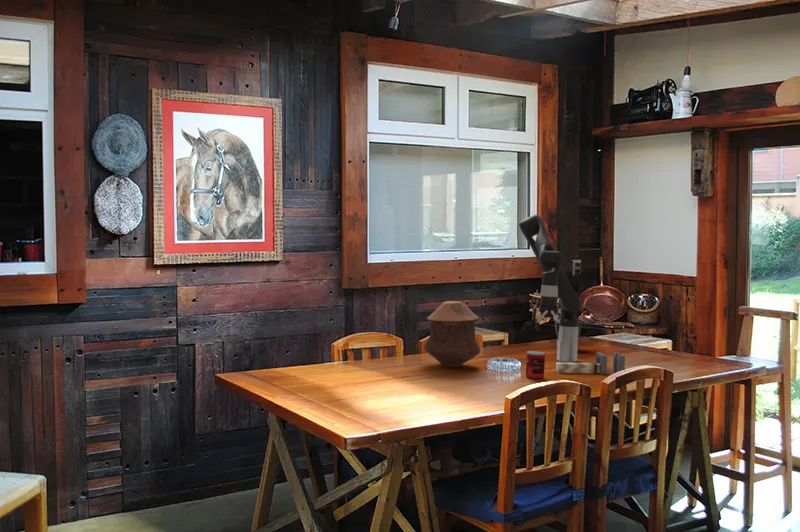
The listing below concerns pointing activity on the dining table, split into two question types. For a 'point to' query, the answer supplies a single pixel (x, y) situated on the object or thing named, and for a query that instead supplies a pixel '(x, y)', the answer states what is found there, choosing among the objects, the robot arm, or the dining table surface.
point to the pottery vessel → (452, 334)
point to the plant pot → (578, 328)
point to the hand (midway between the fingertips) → (547, 330)
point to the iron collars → (617, 362)
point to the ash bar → (577, 367)
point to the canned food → (535, 364)
